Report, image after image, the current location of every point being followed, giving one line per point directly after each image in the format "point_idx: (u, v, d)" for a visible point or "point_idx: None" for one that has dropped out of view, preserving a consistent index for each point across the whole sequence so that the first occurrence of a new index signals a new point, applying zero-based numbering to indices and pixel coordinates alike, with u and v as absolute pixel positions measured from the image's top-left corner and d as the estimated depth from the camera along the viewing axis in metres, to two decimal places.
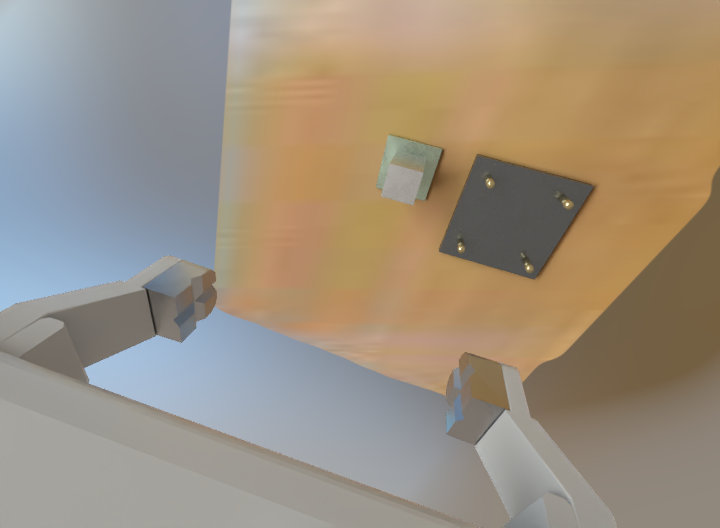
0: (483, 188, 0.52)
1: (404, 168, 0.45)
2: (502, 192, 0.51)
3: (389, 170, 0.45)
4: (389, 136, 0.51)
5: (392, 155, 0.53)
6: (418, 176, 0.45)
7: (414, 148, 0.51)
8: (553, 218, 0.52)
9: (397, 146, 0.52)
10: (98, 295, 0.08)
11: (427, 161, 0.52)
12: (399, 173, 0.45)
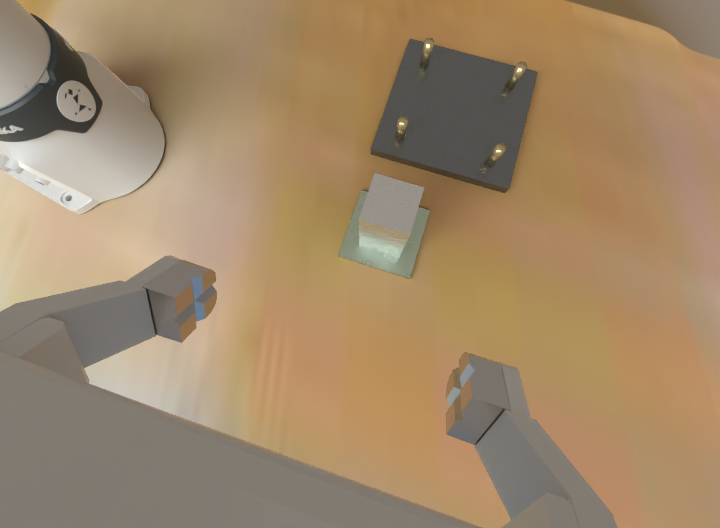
0: (411, 139, 0.41)
1: (367, 198, 0.30)
2: (417, 119, 0.41)
3: (369, 219, 0.29)
4: (340, 254, 0.38)
5: (365, 251, 0.38)
6: (379, 179, 0.30)
7: (358, 223, 0.39)
8: (448, 66, 0.43)
9: (353, 244, 0.38)
10: (98, 295, 0.08)
11: None
12: (374, 205, 0.30)
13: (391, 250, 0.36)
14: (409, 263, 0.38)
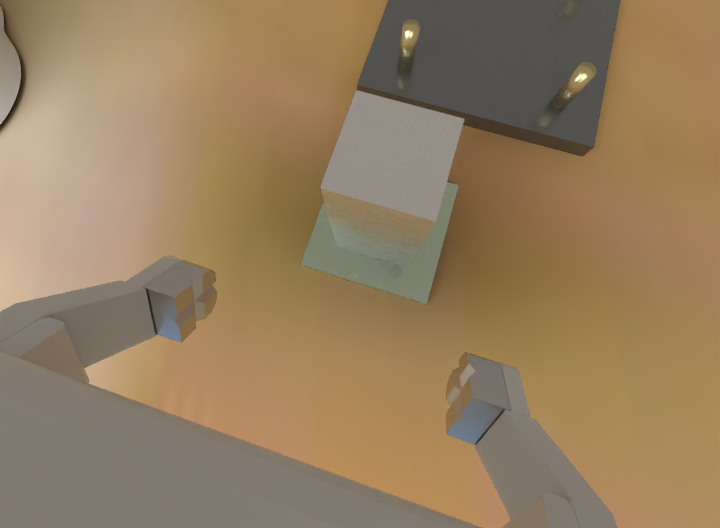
0: (425, 69, 0.24)
1: (339, 143, 0.14)
2: (433, 37, 0.25)
3: (343, 188, 0.13)
4: (304, 262, 0.22)
5: (347, 257, 0.22)
6: (366, 103, 0.14)
7: None
8: None
9: (327, 244, 0.22)
10: (98, 295, 0.08)
11: None
12: (354, 157, 0.13)
13: (393, 254, 0.20)
14: (425, 277, 0.21)
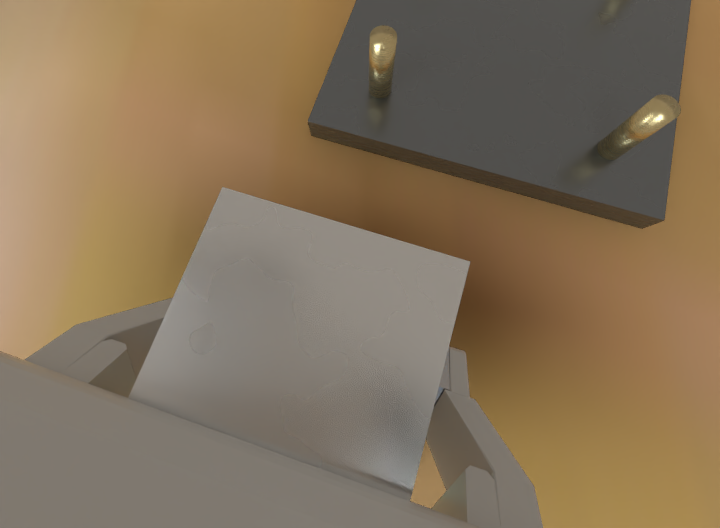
0: (408, 98, 0.17)
1: (169, 324, 0.06)
2: (421, 51, 0.17)
3: None
4: None
5: None
6: (242, 220, 0.06)
7: None
8: None
9: None
10: (154, 314, 0.08)
11: None
12: (199, 365, 0.05)
13: None
14: None
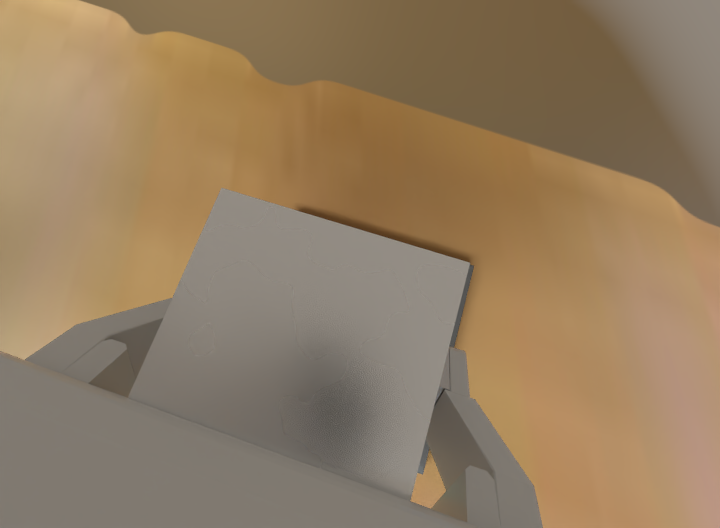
0: None
1: (168, 325, 0.06)
2: None
3: None
4: None
5: None
6: (241, 222, 0.06)
7: None
8: None
9: None
10: (154, 314, 0.08)
11: None
12: (199, 367, 0.05)
13: None
14: None
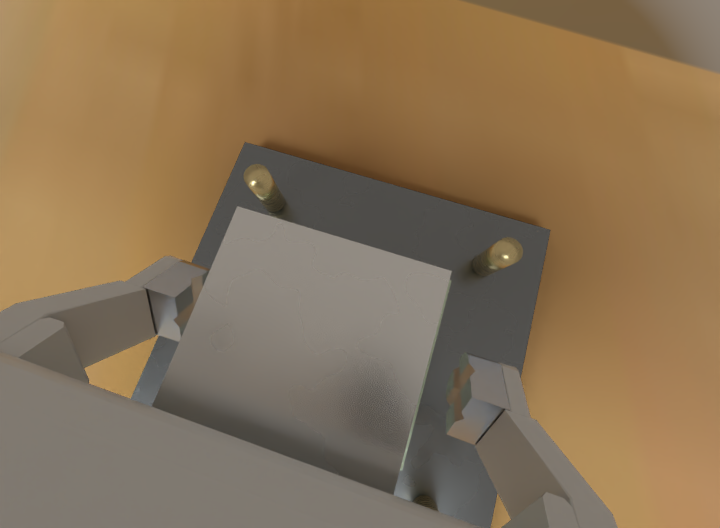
0: None
1: (193, 325, 0.07)
2: None
3: None
4: None
5: None
6: (255, 236, 0.07)
7: None
8: (331, 215, 0.17)
9: None
10: (98, 295, 0.08)
11: None
12: (220, 360, 0.06)
13: None
14: None
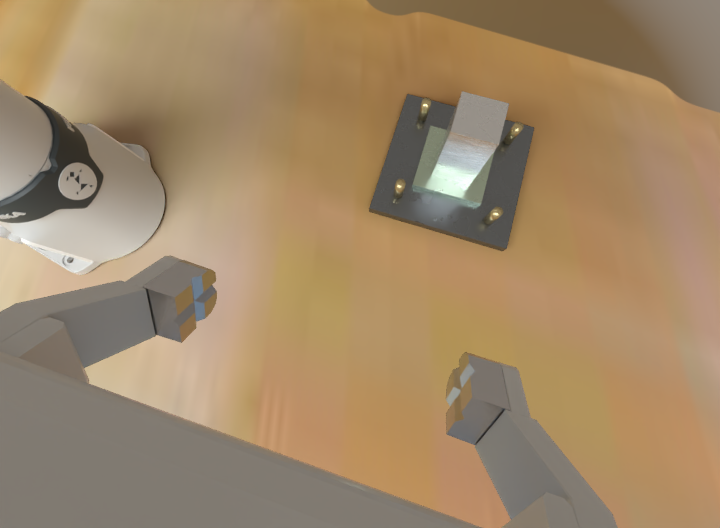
0: (409, 198, 0.41)
1: (457, 113, 0.33)
2: (414, 177, 0.42)
3: (460, 131, 0.32)
4: (414, 183, 0.41)
5: (437, 180, 0.41)
6: (467, 97, 0.33)
7: (429, 155, 0.41)
8: (446, 122, 0.43)
9: (426, 174, 0.41)
10: (98, 295, 0.08)
11: None
12: (463, 119, 0.32)
13: (466, 175, 0.39)
14: (479, 190, 0.40)
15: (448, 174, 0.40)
